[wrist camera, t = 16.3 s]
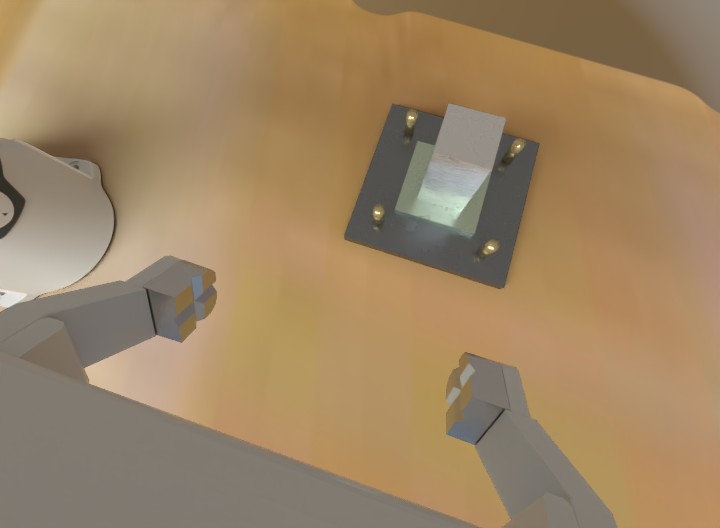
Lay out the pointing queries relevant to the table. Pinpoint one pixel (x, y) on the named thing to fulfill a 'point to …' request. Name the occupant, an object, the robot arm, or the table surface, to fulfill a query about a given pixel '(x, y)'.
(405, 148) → the mounting plate
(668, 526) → the table surface
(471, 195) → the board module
